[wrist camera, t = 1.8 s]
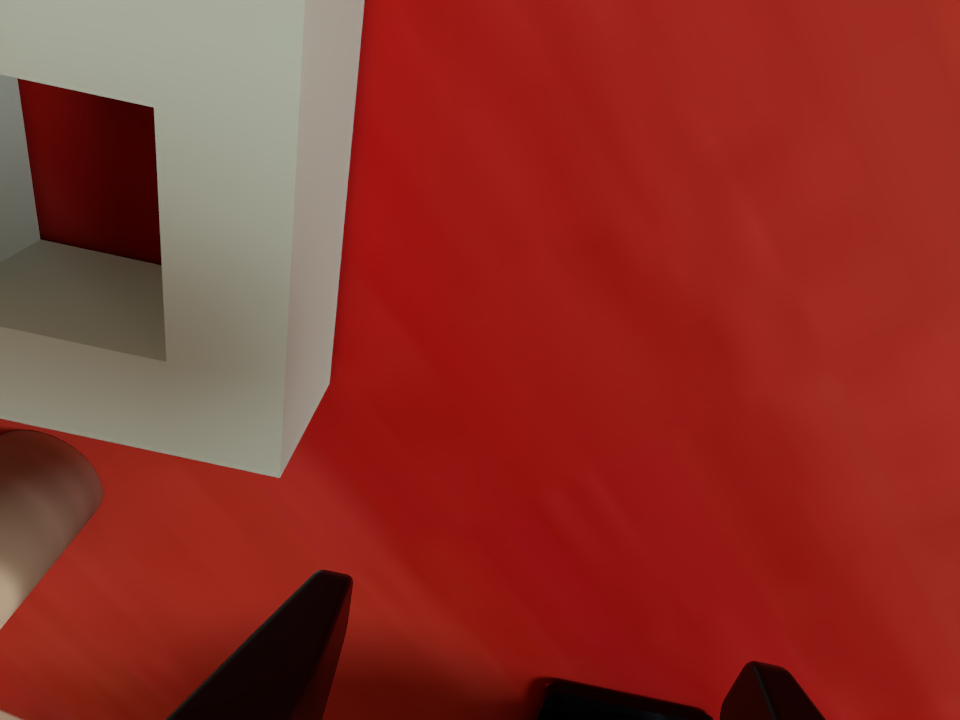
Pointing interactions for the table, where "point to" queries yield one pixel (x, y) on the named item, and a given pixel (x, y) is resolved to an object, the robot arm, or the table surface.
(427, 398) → the table surface
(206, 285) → the block
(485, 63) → the table surface
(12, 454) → the dowel
